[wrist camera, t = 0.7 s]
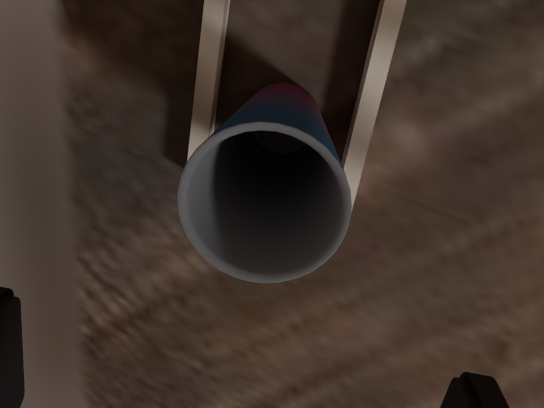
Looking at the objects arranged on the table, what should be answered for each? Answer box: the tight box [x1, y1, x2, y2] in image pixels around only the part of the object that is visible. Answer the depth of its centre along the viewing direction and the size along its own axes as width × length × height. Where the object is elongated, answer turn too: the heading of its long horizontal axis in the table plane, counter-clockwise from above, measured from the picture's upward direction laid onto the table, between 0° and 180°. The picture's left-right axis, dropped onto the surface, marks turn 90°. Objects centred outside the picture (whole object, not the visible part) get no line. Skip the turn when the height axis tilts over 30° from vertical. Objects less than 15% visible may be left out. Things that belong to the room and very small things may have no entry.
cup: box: [177, 82, 352, 283], centre depth 26 cm, size 7×7×15 cm
